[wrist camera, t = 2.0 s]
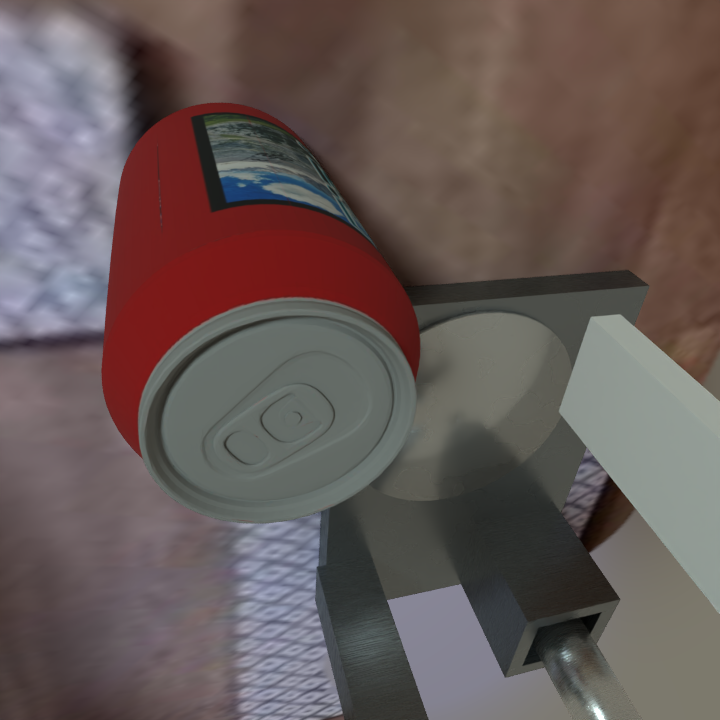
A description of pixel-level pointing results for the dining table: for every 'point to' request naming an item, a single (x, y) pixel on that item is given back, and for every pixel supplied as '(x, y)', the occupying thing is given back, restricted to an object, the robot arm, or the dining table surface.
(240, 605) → the dining table surface
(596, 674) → the plunger
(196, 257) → the beverage can
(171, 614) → the dining table surface
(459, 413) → the press
